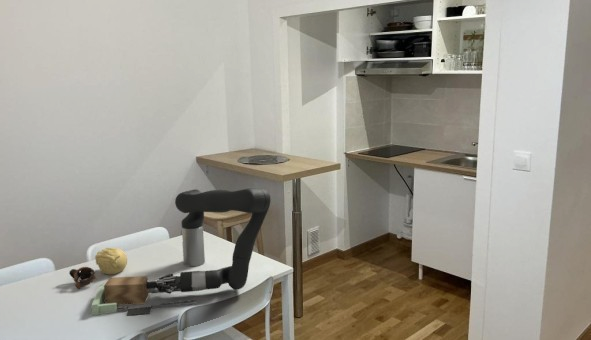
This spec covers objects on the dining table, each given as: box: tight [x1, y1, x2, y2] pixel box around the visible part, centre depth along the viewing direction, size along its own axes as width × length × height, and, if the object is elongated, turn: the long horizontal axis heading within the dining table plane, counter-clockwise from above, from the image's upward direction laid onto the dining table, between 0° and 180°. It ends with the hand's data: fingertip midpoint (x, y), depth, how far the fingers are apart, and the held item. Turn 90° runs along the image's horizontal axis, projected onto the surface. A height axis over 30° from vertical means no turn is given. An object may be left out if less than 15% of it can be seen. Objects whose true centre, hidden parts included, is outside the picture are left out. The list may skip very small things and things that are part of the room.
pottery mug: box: [69, 266, 97, 290], centre depth 196 cm, size 12×10×8 cm
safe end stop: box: [91, 284, 118, 316], centre depth 180 cm, size 8×16×4 cm, turn 11°
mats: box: [126, 288, 156, 317], centre depth 182 cm, size 8×22×1 cm, turn 11°
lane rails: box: [116, 288, 197, 313], centre depth 183 cm, size 28×14×1 cm, turn 101°
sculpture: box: [94, 247, 128, 275], centre depth 207 cm, size 12×12×11 cm
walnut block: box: [103, 275, 150, 306], centre depth 182 cm, size 14×7×8 cm, turn 94°
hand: (146, 285), depth 181 cm, fingers closed
